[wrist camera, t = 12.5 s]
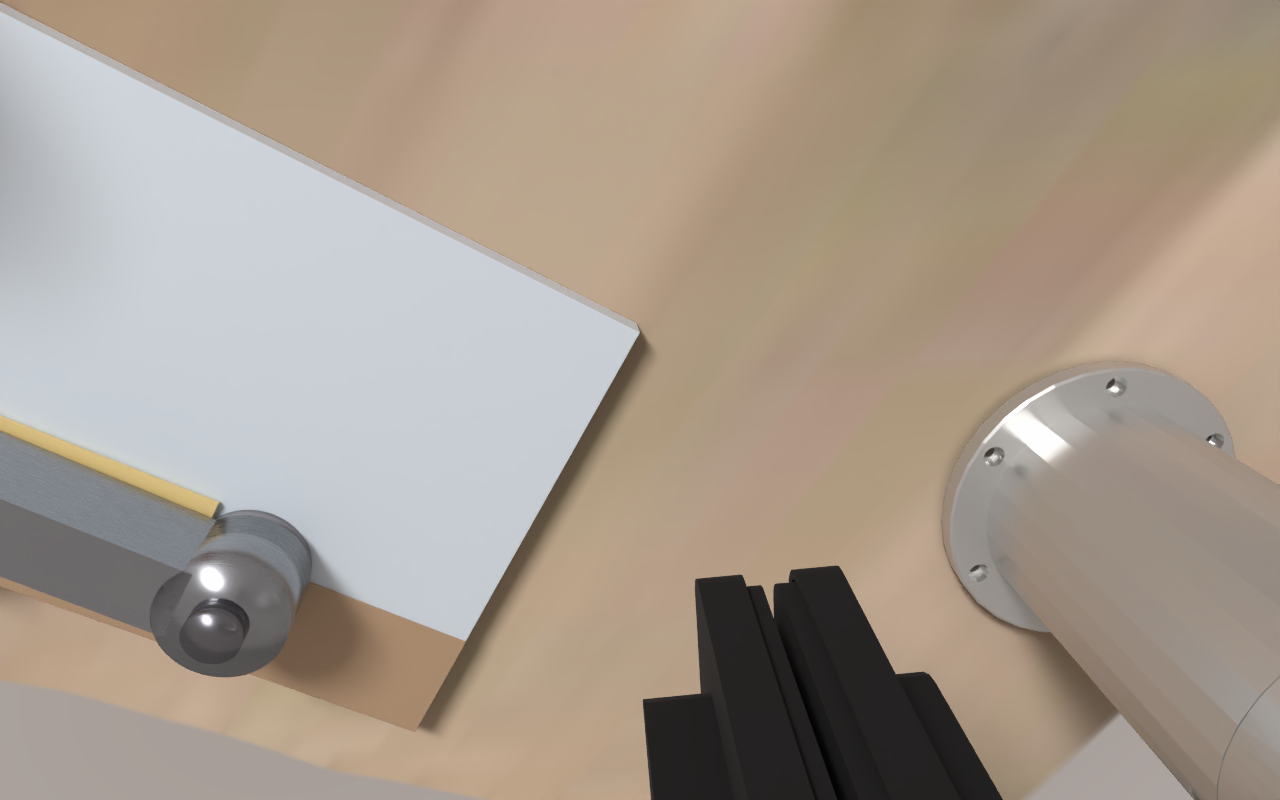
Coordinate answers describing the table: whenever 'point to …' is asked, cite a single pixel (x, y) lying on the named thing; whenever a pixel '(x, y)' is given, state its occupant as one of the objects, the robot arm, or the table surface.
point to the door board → (282, 360)
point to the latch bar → (150, 561)
